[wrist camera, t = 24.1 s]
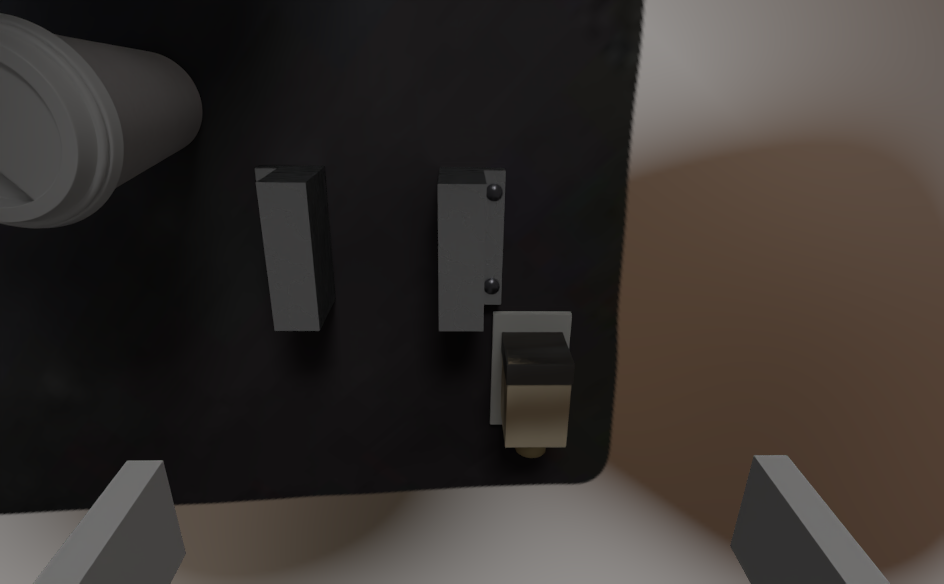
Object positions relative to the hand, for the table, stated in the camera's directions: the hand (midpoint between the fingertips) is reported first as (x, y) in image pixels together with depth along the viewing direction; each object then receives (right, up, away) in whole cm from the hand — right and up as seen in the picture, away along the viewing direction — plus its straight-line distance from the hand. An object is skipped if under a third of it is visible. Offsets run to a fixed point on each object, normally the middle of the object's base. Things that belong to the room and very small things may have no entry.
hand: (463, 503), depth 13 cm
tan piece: (+5, -2, +33) cm, 34 cm away
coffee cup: (-21, +17, +25) cm, 37 cm away
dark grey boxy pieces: (-6, +9, +29) cm, 31 cm away
